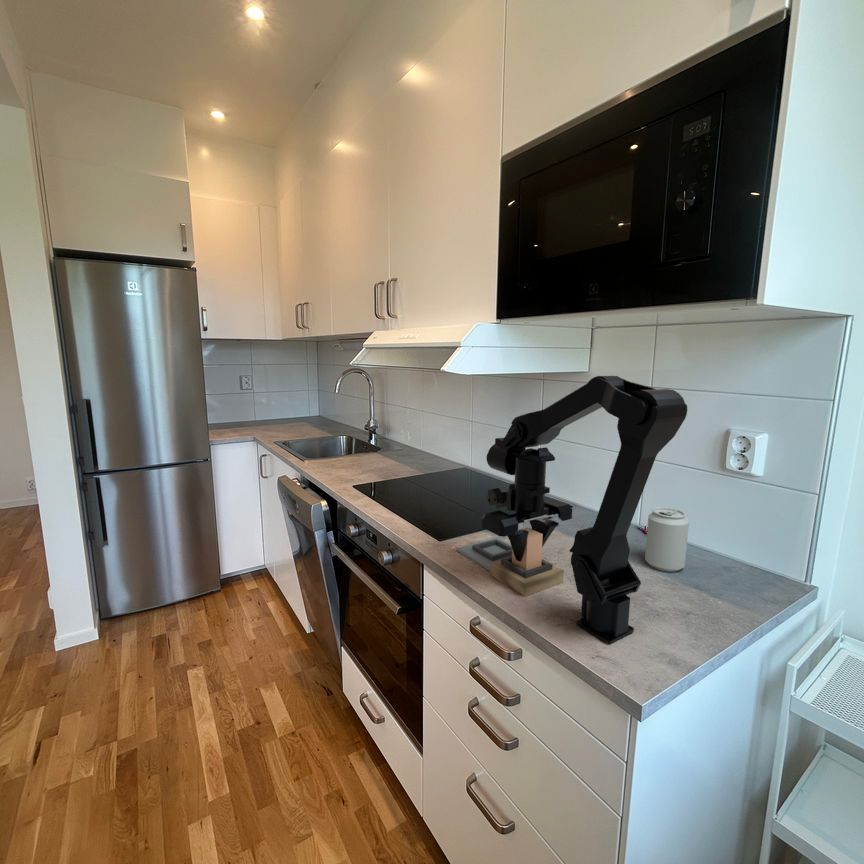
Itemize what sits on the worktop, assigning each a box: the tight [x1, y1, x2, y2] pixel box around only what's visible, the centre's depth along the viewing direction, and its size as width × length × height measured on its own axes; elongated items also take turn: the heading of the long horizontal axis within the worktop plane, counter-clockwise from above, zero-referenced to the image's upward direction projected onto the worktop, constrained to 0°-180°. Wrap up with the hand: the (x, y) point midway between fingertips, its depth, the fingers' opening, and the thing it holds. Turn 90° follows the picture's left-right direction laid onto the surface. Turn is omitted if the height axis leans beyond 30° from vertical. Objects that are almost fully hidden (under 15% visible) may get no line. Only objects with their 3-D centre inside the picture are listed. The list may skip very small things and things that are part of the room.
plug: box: [512, 527, 543, 571], centre depth 89 cm, size 4×4×7 cm
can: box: [644, 506, 690, 573], centre depth 95 cm, size 8×8×12 cm
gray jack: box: [456, 536, 512, 572], centre depth 100 cm, size 12×12×2 cm
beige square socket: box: [489, 556, 565, 597], centre depth 89 cm, size 10×10×4 cm
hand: (526, 558), depth 89 cm, fingers closed on plug, 4 cm apart
